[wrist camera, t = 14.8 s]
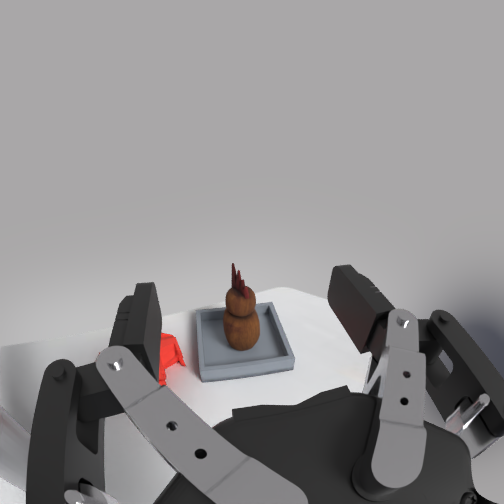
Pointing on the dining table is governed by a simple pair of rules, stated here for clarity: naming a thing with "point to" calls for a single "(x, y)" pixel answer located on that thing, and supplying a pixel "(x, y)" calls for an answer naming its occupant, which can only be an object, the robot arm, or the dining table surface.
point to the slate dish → (241, 362)
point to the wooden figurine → (240, 315)
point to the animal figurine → (168, 355)
